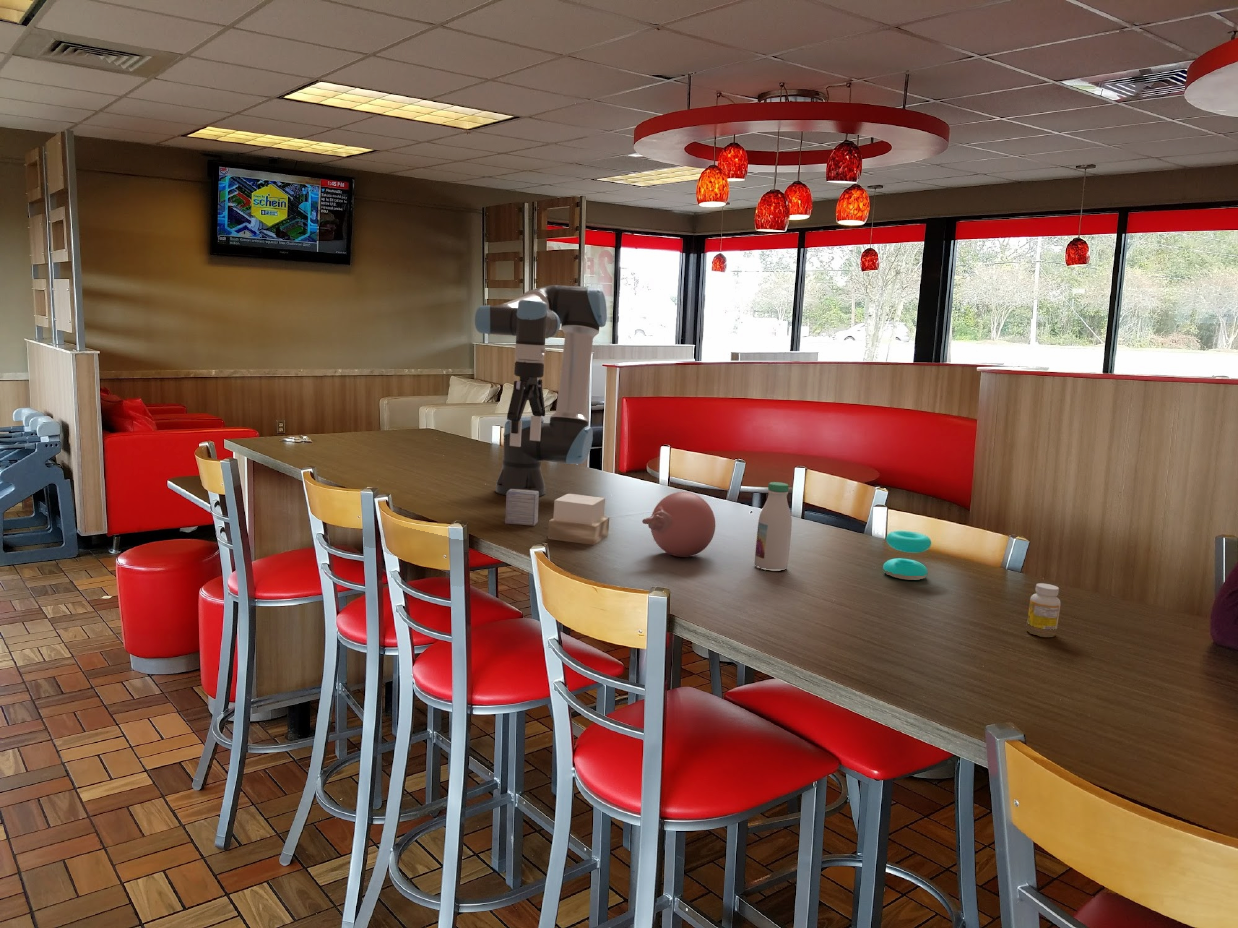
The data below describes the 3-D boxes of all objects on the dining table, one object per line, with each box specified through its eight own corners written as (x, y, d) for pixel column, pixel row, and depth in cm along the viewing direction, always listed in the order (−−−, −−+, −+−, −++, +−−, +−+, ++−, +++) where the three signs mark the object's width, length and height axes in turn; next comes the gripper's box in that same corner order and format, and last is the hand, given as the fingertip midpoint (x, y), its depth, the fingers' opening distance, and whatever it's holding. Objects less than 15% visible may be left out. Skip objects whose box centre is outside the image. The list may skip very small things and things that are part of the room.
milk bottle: (790, 566, 217) (798, 483, 213) (784, 574, 209) (793, 488, 206) (757, 561, 219) (765, 479, 216) (751, 569, 212) (759, 484, 209)
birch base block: (564, 530, 239) (565, 511, 239) (608, 536, 236) (609, 517, 235) (547, 540, 228) (548, 520, 227) (594, 546, 225) (595, 526, 224)
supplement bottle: (1051, 640, 175) (1058, 592, 173) (1022, 633, 178) (1028, 585, 177) (1059, 634, 179) (1066, 586, 177) (1030, 627, 182) (1037, 580, 181)
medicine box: (537, 522, 244) (539, 490, 243) (534, 526, 240) (536, 493, 239) (508, 520, 245) (510, 488, 244) (504, 523, 241) (506, 491, 239)
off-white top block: (567, 512, 238) (568, 493, 237) (603, 517, 235) (605, 498, 234) (553, 519, 228) (554, 500, 228) (591, 524, 226) (592, 505, 225)
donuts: (909, 528, 220) (941, 538, 211) (904, 569, 221) (936, 580, 213) (877, 530, 215) (909, 541, 206) (873, 571, 217) (904, 583, 208)
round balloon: (619, 552, 219) (624, 489, 217) (685, 545, 230) (690, 485, 228) (658, 569, 207) (663, 502, 204) (726, 560, 218) (731, 497, 215)
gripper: (524, 363, 223) (520, 450, 226) (559, 361, 247) (555, 439, 250) (496, 361, 225) (492, 447, 228) (533, 359, 249) (529, 437, 252)
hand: (525, 443), depth 239 cm, fingers open, 13 cm apart
